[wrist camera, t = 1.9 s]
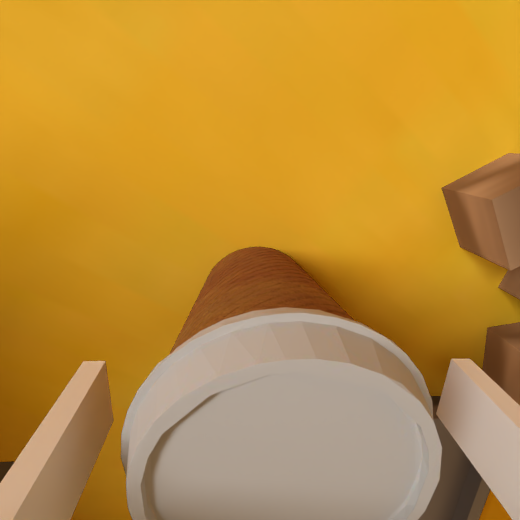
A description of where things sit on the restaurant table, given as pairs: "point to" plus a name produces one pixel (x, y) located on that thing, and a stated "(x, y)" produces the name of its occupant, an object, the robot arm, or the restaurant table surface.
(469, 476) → the tray
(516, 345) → the cube
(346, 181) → the restaurant table surface
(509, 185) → the cube
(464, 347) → the restaurant table surface
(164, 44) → the restaurant table surface
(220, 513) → the disposable coffee cup
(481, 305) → the restaurant table surface
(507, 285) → the cube
